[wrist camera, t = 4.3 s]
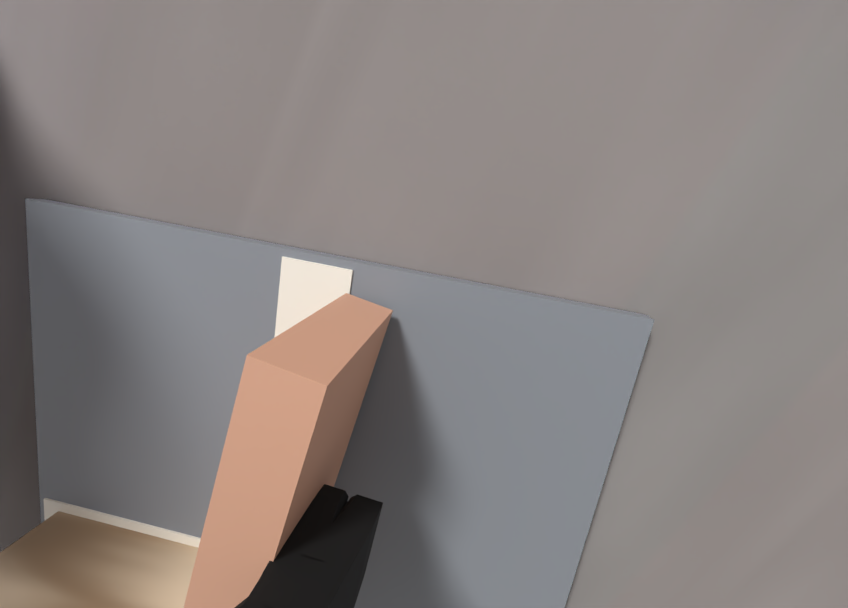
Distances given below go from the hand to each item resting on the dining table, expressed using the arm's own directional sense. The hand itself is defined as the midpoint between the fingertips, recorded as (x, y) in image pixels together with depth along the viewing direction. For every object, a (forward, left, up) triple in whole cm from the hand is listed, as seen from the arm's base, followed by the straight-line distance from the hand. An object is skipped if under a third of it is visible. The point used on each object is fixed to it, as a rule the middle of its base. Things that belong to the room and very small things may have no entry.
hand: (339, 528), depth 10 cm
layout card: (-2, -1, -3) cm, 4 cm away
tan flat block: (-1, +1, -2) cm, 2 cm away
